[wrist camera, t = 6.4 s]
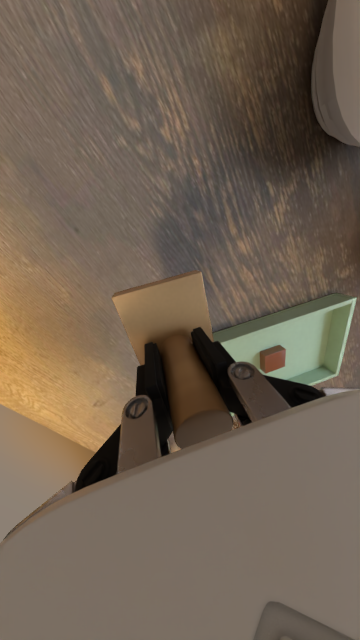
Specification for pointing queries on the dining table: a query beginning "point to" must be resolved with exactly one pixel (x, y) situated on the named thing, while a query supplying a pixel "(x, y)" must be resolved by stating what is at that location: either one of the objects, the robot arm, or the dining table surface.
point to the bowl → (338, 72)
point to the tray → (296, 338)
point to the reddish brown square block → (272, 358)
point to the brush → (177, 351)
